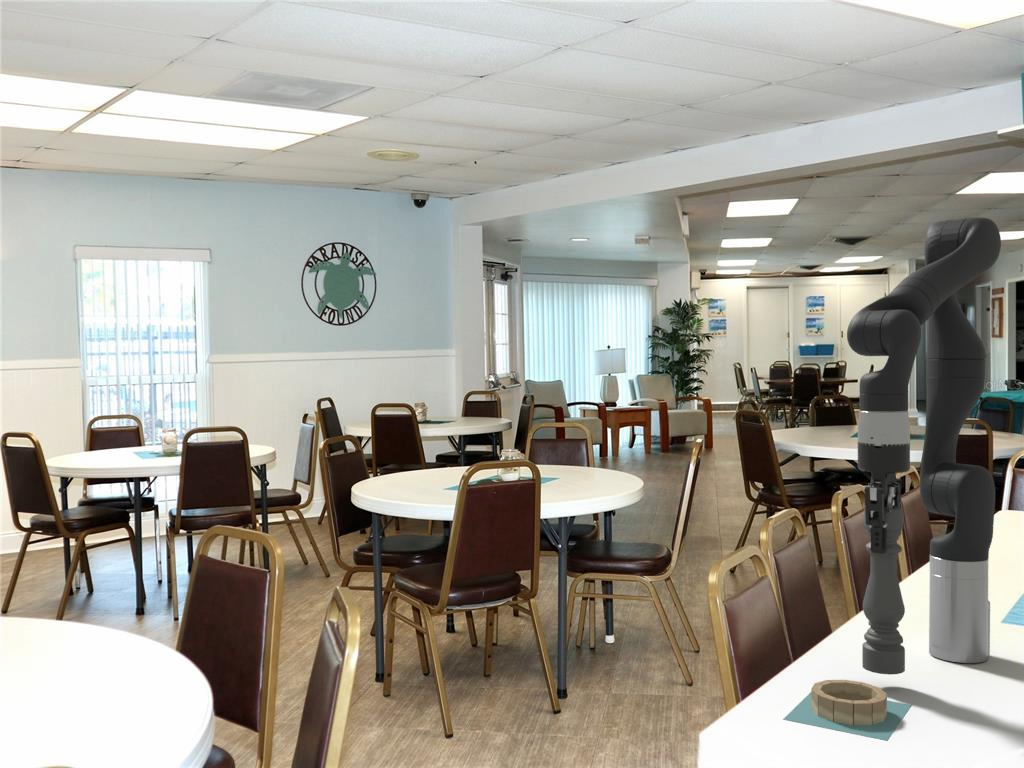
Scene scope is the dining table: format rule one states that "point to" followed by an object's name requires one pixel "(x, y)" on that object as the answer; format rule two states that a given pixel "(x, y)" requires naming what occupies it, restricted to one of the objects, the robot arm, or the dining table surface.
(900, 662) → the candle holder
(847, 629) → the dining table surface
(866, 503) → the robot arm
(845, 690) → the segmented wooden ring
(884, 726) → the runner mat
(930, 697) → the dining table surface
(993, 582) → the dining table surface
